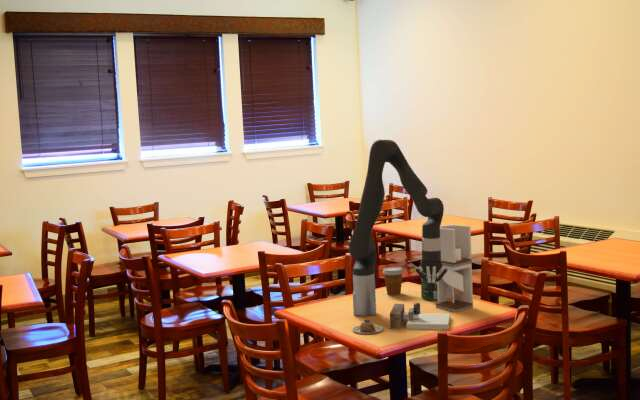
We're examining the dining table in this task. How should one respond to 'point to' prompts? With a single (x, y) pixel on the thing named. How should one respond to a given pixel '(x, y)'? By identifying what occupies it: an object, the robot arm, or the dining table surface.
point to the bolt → (415, 313)
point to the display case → (455, 269)
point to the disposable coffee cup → (393, 280)
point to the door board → (428, 321)
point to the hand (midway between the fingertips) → (431, 291)
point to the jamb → (396, 316)
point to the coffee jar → (424, 288)
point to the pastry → (367, 327)
